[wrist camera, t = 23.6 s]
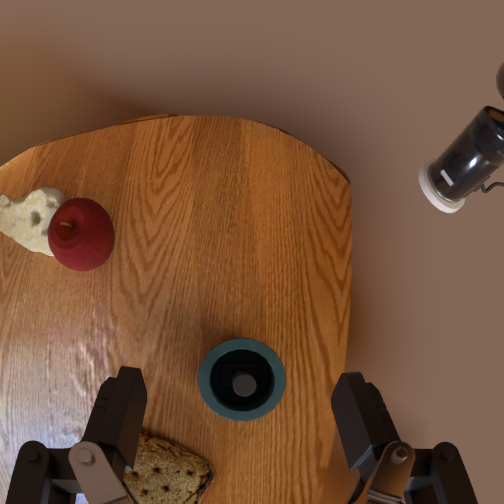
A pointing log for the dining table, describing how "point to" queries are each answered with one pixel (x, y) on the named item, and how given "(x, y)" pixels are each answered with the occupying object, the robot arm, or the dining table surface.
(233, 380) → the t-shaped mushroom stamp
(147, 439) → the pastry
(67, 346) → the dining table surface
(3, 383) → the dining table surface
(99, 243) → the apple
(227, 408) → the crock
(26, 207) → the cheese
